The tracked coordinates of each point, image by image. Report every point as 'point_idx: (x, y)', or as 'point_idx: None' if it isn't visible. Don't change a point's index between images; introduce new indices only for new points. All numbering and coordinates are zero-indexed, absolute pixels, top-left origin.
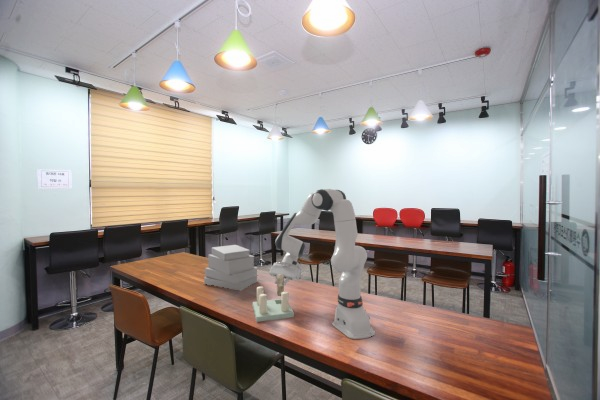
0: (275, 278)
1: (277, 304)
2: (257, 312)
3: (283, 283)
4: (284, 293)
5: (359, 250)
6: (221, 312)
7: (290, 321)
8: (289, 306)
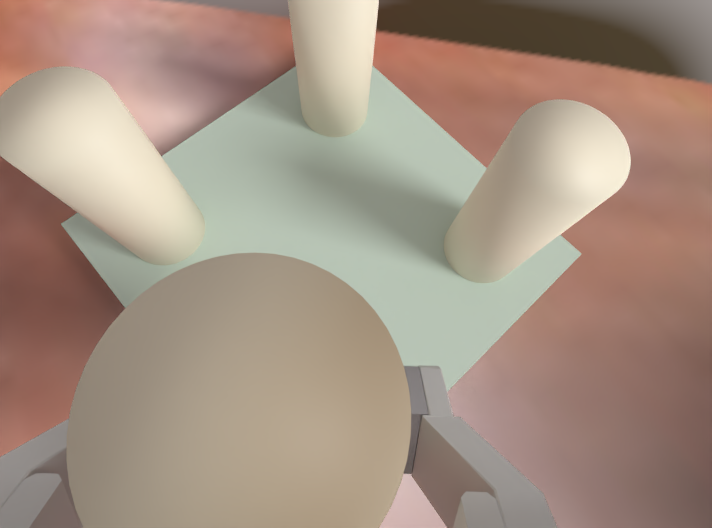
0: (483, 442)
1: None
2: (382, 96)
3: None
4: (55, 98)
5: None
6: (670, 78)
7: None
8: None
